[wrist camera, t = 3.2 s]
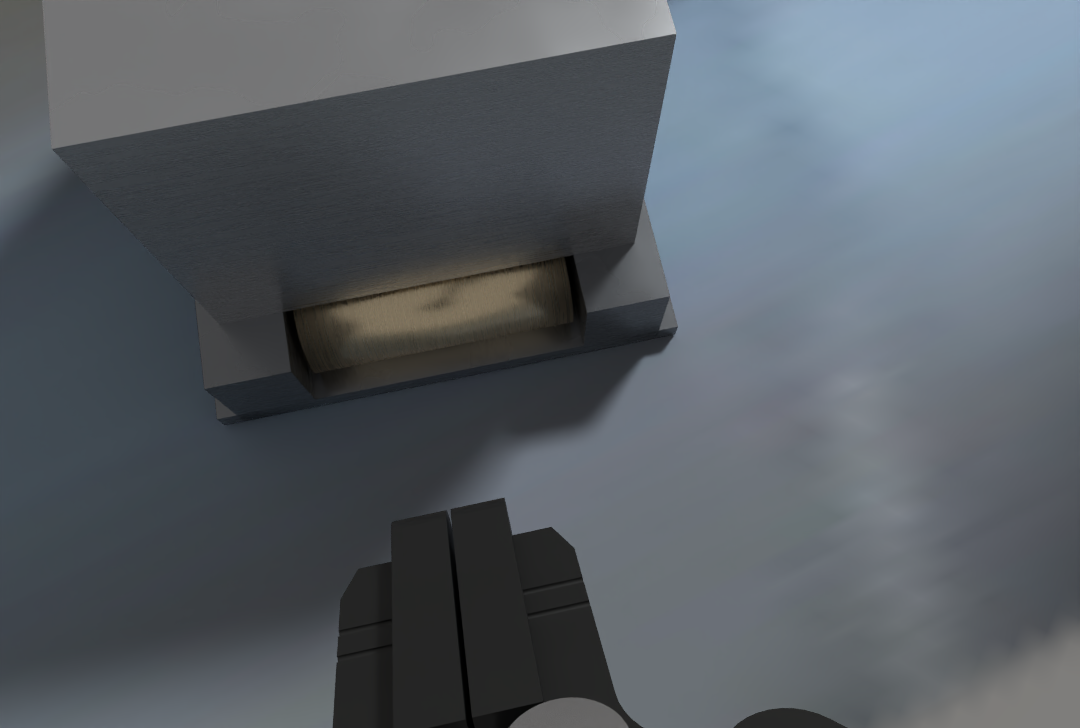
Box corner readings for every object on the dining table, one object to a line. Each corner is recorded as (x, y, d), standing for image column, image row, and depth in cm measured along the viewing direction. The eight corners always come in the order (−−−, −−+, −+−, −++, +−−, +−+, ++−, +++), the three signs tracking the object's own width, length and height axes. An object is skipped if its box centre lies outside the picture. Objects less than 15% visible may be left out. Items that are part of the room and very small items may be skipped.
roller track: (674, 334, 26) (690, 291, 23) (224, 425, 25) (182, 393, 22) (515, -265, 32) (512, -356, 29) (154, -205, 31) (114, -292, 29)
